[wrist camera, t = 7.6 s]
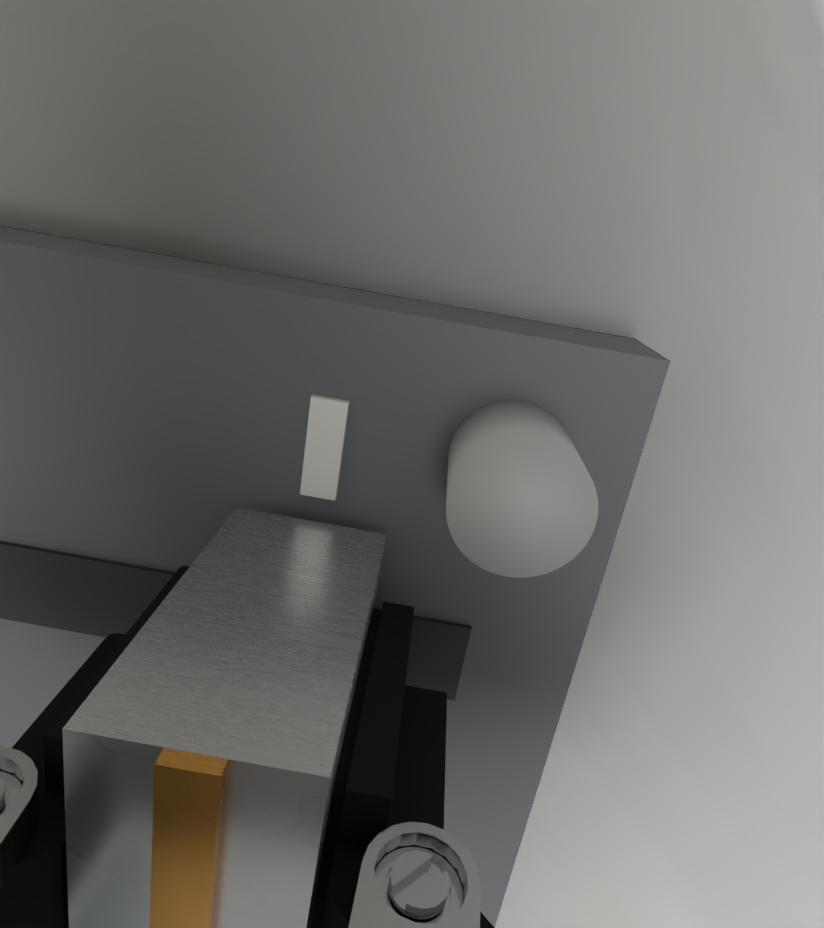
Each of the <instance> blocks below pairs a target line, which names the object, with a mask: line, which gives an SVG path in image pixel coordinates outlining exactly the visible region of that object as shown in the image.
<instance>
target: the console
mask: <svg viewBox="0 0 824 928" xmlns="http://www.w3.org/2000/svg"><path fill="white" fill-rule="evenodd" d="M669 362H670V361H669V360H668V359H666V358H665V357H663V356H661V355H660V354H658V353H657V352H655V351H654V350H652V349H650V348H649V347H647V346H646V345H644V344H643V343H641V342H640V341H638V340H636V339H632V338H627V337H621V336H615V335H610V334H604V333H599V332H593V331H587V330H582V329H576V328H570V327H565V326H559V325H554V324H548V323H542V322H537V321H531V320H526V319H520V318H514V317H509V316H503V315H497V314H492V313H486V312H481V311H475V310H469V309H464V308H458V307H453V306H447V305H441V304H436V303H430V302H424V301H419V300H413V299H408V298H402V297H396V296H391V295H385V294H380V293H374V292H368V291H363V290H357V289H351V288H346V287H340V286H335V285H329V284H323V283H318V282H312V281H307V280H301V279H295V278H290V277H284V276H278V275H273V274H267V273H262V272H256V271H250V270H245V269H239V268H233V267H228V266H222V265H217V264H211V263H205V262H200V261H194V260H189V259H183V258H177V257H172V256H166V255H160V254H155V253H149V252H144V251H138V250H132V249H127V248H121V247H116V246H110V245H104V244H99V243H93V242H87V241H82V240H76V239H71V238H65V237H59V236H54V235H48V234H43V233H37V232H31V231H26V230H20V229H14V228H9V227H3V226H0V746H5V747H8V748H12V747H13V746H14V744H15V743H16V742H17V741H18V740H19V739H20V737H21V736H22V735H23V734H24V733H25V732H26V730H27V729H28V728H29V727H30V726H31V725H32V723H33V722H34V721H35V720H36V719H37V718H38V716H39V715H40V714H41V713H42V712H43V710H44V709H45V708H46V707H47V706H48V705H49V703H50V702H51V701H52V700H53V699H54V698H55V696H56V695H57V694H58V693H59V692H60V691H61V689H62V688H63V687H64V686H65V685H66V684H67V682H68V681H69V680H70V679H71V678H72V677H73V675H74V674H75V673H76V672H77V671H78V669H79V668H80V667H81V666H82V665H83V664H84V662H85V661H86V660H87V659H88V658H89V657H90V655H91V654H92V653H93V652H94V651H95V650H96V648H97V647H98V646H99V645H100V644H101V643H102V641H103V640H104V639H105V638H106V637H108V636H109V635H110V634H112V633H121V634H126V633H127V632H128V631H129V629H130V628H131V627H132V626H133V624H134V623H135V622H136V621H137V620H138V618H139V617H140V616H141V615H142V613H143V612H144V611H145V610H146V608H147V607H148V606H149V605H150V604H151V602H152V601H153V600H154V599H155V597H156V596H157V595H158V594H159V592H160V591H161V590H162V589H163V588H164V586H165V585H166V584H167V583H168V581H169V580H170V579H171V578H172V576H173V575H174V574H175V573H176V572H177V570H178V569H179V568H180V567H181V566H184V565H185V566H191V565H192V563H193V562H194V561H195V560H196V558H197V557H198V556H199V554H200V553H201V552H202V551H203V549H204V548H205V547H206V546H207V544H208V543H209V542H210V540H211V539H212V538H213V537H214V535H215V534H216V533H217V532H218V530H219V529H220V528H221V526H222V525H223V524H224V523H225V521H226V520H227V519H228V518H229V516H230V515H231V514H232V512H233V511H234V510H235V509H236V507H238V508H243V509H249V510H254V511H260V512H266V513H271V514H277V515H282V516H288V517H293V518H299V519H304V520H310V521H316V522H321V523H327V524H332V525H338V526H343V527H349V528H355V529H360V530H366V531H371V532H377V533H382V534H386V540H385V546H384V552H383V558H382V564H381V570H380V576H379V582H378V587H377V593H376V599H375V605H374V608H376V609H381V610H382V606H383V602H384V601H385V602H390V603H396V604H402V605H407V606H413V607H414V613H413V621H412V630H411V639H410V647H409V656H408V664H407V673H406V681H405V685H409V686H414V687H420V688H425V689H431V690H436V691H442V692H446V694H447V719H446V760H445V800H444V830H445V831H447V832H448V833H449V834H451V835H452V836H454V837H455V838H457V839H458V840H459V841H460V842H461V843H462V845H463V846H464V847H465V848H466V849H467V850H468V852H469V853H470V854H471V856H472V858H473V860H474V863H475V865H476V867H477V869H478V872H479V879H480V887H481V904H480V911H481V913H482V914H483V915H484V916H485V917H486V918H487V919H488V921H489V922H490V923H491V924H492V925H493V926H494V927H495V924H496V920H497V917H498V914H499V911H500V907H501V904H502V901H503V898H504V895H505V891H506V888H507V885H508V882H509V878H510V875H511V872H512V869H513V866H514V862H515V859H516V856H517V853H518V849H519V846H520V843H521V840H522V837H523V833H524V830H525V827H526V824H527V820H528V817H529V814H530V811H531V807H532V804H533V801H534V798H535V795H536V791H537V788H538V785H539V782H540V778H541V775H542V772H543V769H544V766H545V762H546V759H547V756H548V753H549V749H550V746H551V743H552V740H553V737H554V733H555V730H556V727H557V724H558V720H559V717H560V714H561V711H562V707H563V704H564V701H565V698H566V695H567V691H568V688H569V685H570V682H571V678H572V675H573V672H574V669H575V666H576V662H577V659H578V656H579V653H580V649H581V646H582V643H583V640H584V637H585V633H586V630H587V627H588V624H589V620H590V617H591V614H592V611H593V607H594V604H595V601H596V598H597V595H598V591H599V588H600V585H601V582H602V578H603V575H604V572H605V569H606V566H607V562H608V559H609V556H610V553H611V549H612V546H613V543H614V540H615V537H616V533H617V530H618V527H619V524H620V520H621V517H622V514H623V511H624V507H625V504H626V501H627V498H628V495H629V491H630V488H631V485H632V482H633V478H634V475H635V472H636V469H637V466H638V462H639V459H640V456H641V453H642V449H643V446H644V443H645V440H646V437H647V433H648V430H649V427H650V424H651V420H652V417H653V414H654V411H655V407H656V404H657V401H658V398H659V395H660V391H661V388H662V385H663V382H664V378H665V375H666V372H667V369H668V366H669Z"/></svg>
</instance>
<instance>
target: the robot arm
mask: <svg viewBox="0 0 824 928" xmlns="http://www.w3.org/2000/svg"><path fill="white" fill-rule="evenodd" d="M189 567H190V566H185V565H184V566H181V567H180V568H179V569H178V570H177V572H176V573H175V574H174V575H173V576H172V578H171V579H170V580H169V581H168V583H167V584H166V585H165V586H164V588H163V589H162V590H161V591H160V592H159V594H158V595H157V596H156V597H155V599H154V600H153V601H152V602H151V604H150V605H149V606H148V607H147V608H146V610H145V611H144V612H143V613H142V615H141V616H140V617H139V618H138V620H137V621H136V622H135V623H134V624H133V626H132V627H131V628H130V629H129V631H128V632H127V633H126V634H121V633H112V634H110V635H109V636H108V637H106V638H105V639H104V640H103V641H102V643H101V644H100V645H99V646H98V647H97V648H96V650H95V651H94V652H93V653H92V654H91V655H90V657H89V658H88V659H87V660H86V661H85V662H84V664H83V665H82V666H81V667H80V668H79V669H78V671H77V672H76V673H75V674H74V675H73V677H72V678H71V679H70V680H69V681H68V682H67V684H66V685H65V686H64V687H63V688H62V689H61V691H60V692H59V693H58V694H57V695H56V696H55V698H54V699H53V700H52V701H51V702H50V703H49V705H48V706H47V707H46V708H45V709H44V710H43V712H42V713H41V714H40V715H39V716H38V718H37V719H36V720H35V721H34V722H33V723H32V725H31V726H30V727H29V728H28V729H27V730H26V732H25V733H24V734H23V735H22V736H21V737H20V739H19V740H18V741H17V742H16V743H15V744H14V746H13V747H12V748H8V747H5V746H0V928H69V915H68V885H67V854H66V824H65V793H64V763H63V732H62V729H63V727H64V726H65V725H66V724H67V722H68V721H69V720H70V719H71V717H72V716H73V715H74V713H75V712H76V711H77V710H78V708H79V707H80V706H81V705H82V703H83V702H84V701H85V699H86V698H87V697H88V696H89V694H90V693H91V692H92V691H93V689H94V688H95V687H96V685H97V684H98V683H99V682H100V680H101V679H102V678H103V677H104V675H105V674H106V673H107V671H108V670H109V669H110V668H111V666H112V665H113V664H114V663H115V661H116V660H117V659H118V657H119V656H120V655H121V654H122V652H123V651H124V650H125V649H126V647H127V646H128V645H129V643H130V642H131V641H132V640H133V638H134V637H135V636H136V635H137V633H138V632H139V631H140V629H141V628H142V627H143V626H144V624H145V623H146V622H147V621H148V619H149V618H150V617H151V615H152V614H153V613H154V612H155V610H156V609H157V608H158V607H159V605H160V604H161V603H162V601H163V600H164V599H165V598H166V596H167V595H168V594H169V593H170V591H171V590H172V589H173V587H174V586H175V585H176V584H177V582H178V581H179V580H180V579H181V577H182V576H183V575H184V574H185V572H186V571H187V570H188V568H189ZM413 613H414V607H413V606H407V605H402V604H396V603H390V602H385V601H384V602H383V606H382V610H381V609H376V608H373V610H372V614H371V619H370V623H369V628H368V632H367V637H366V641H365V646H364V650H363V655H362V659H361V664H360V668H359V673H358V677H357V682H356V686H355V691H354V695H353V700H352V704H351V709H350V713H349V718H348V722H347V727H346V731H345V736H344V740H343V745H342V749H341V754H340V758H339V763H338V767H337V772H336V777H335V782H334V787H333V792H332V798H331V803H330V809H329V815H328V822H327V828H326V834H325V840H324V846H323V853H322V859H321V865H320V871H319V877H318V883H317V890H316V896H315V902H314V908H313V914H312V921H311V927H310V928H494V926H493V925H492V924H491V923H490V922H489V921H488V919H487V918H486V917H485V916H484V915H483V914H482V913H481V911H480V904H481V887H480V879H479V872H478V869H477V867H476V865H475V863H474V860H473V858H472V856H471V854H470V853H469V852H468V850H467V849H466V848H465V847H464V846H463V845H462V843H461V842H460V841H459V840H458V839H457V838H455V837H454V836H452V835H451V834H449V833H448V832H447V831H445V830H444V800H445V760H446V719H447V694H446V692H442V691H436V690H431V689H425V688H420V687H414V686H409V685H405V681H406V673H407V664H408V656H409V647H410V639H411V630H412V621H413Z"/></svg>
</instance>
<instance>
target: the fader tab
mask: <svg viewBox="0 0 824 928" xmlns="http://www.w3.org/2000/svg"><path fill="white" fill-rule="evenodd" d="M385 540H386V534H382V533H377V532H371V531H366V530H360V529H355V528H349V527H343V526H338V525H332V524H327V523H321V522H316V521H310V520H304V519H299V518H293V517H288V516H282V515H277V514H271V513H266V512H260V511H254V510H249V509H243V508H238V507H236V509H235V510H234V511H233V512H232V514H231V515H230V516H229V518H228V519H227V520H226V521H225V523H224V524H223V525H222V526H221V528H220V529H219V530H218V532H217V533H216V534H215V535H214V537H213V538H212V539H211V540H210V542H209V543H208V544H207V546H206V547H205V548H204V549H203V551H202V552H201V553H200V554H199V556H198V557H197V558H196V560H195V561H194V562H193V563H192V565H191V566H190V567H189V568H188V570H187V571H186V572H185V574H184V575H183V576H182V577H181V579H180V580H179V581H178V582H177V584H176V585H175V586H174V587H173V589H172V590H171V591H170V593H169V594H168V595H167V596H166V598H165V599H164V600H163V601H162V603H161V604H160V605H159V607H158V608H157V609H156V610H155V612H154V613H153V614H152V615H151V617H150V618H149V619H148V621H147V622H146V623H145V624H144V626H143V627H142V628H141V629H140V631H139V632H138V633H137V635H136V636H135V637H134V638H133V640H132V641H131V642H130V643H129V645H128V646H127V647H126V649H125V650H124V651H123V652H122V654H121V655H120V656H119V657H118V659H117V660H116V661H115V663H114V664H113V665H112V666H111V668H110V669H109V670H108V671H107V673H106V674H105V675H104V677H103V678H102V679H101V680H100V682H99V683H98V684H97V685H96V687H95V688H94V689H93V691H92V692H91V693H90V694H89V696H88V697H87V698H86V699H85V701H84V702H83V703H82V705H81V706H80V707H79V708H78V710H77V711H76V712H75V713H74V715H73V716H72V717H71V719H70V720H69V721H68V722H67V724H66V725H65V726H64V727H63V729H62V732H63V763H64V793H65V824H66V854H67V885H68V915H69V928H310V927H311V921H312V914H313V908H314V902H315V896H316V890H317V883H318V877H319V871H320V865H321V859H322V853H323V846H324V840H325V834H326V828H327V822H328V815H329V809H330V803H331V798H332V792H333V787H334V782H335V777H336V772H337V767H338V763H339V758H340V754H341V749H342V745H343V740H344V736H345V731H346V727H347V722H348V718H349V713H350V709H351V704H352V700H353V695H354V691H355V686H356V682H357V677H358V673H359V668H360V664H361V659H362V655H363V650H364V646H365V641H366V637H367V632H368V628H369V623H370V619H371V614H372V610H373V608H374V605H375V599H376V593H377V587H378V582H379V576H380V570H381V564H382V558H383V552H384V546H385Z"/></svg>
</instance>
